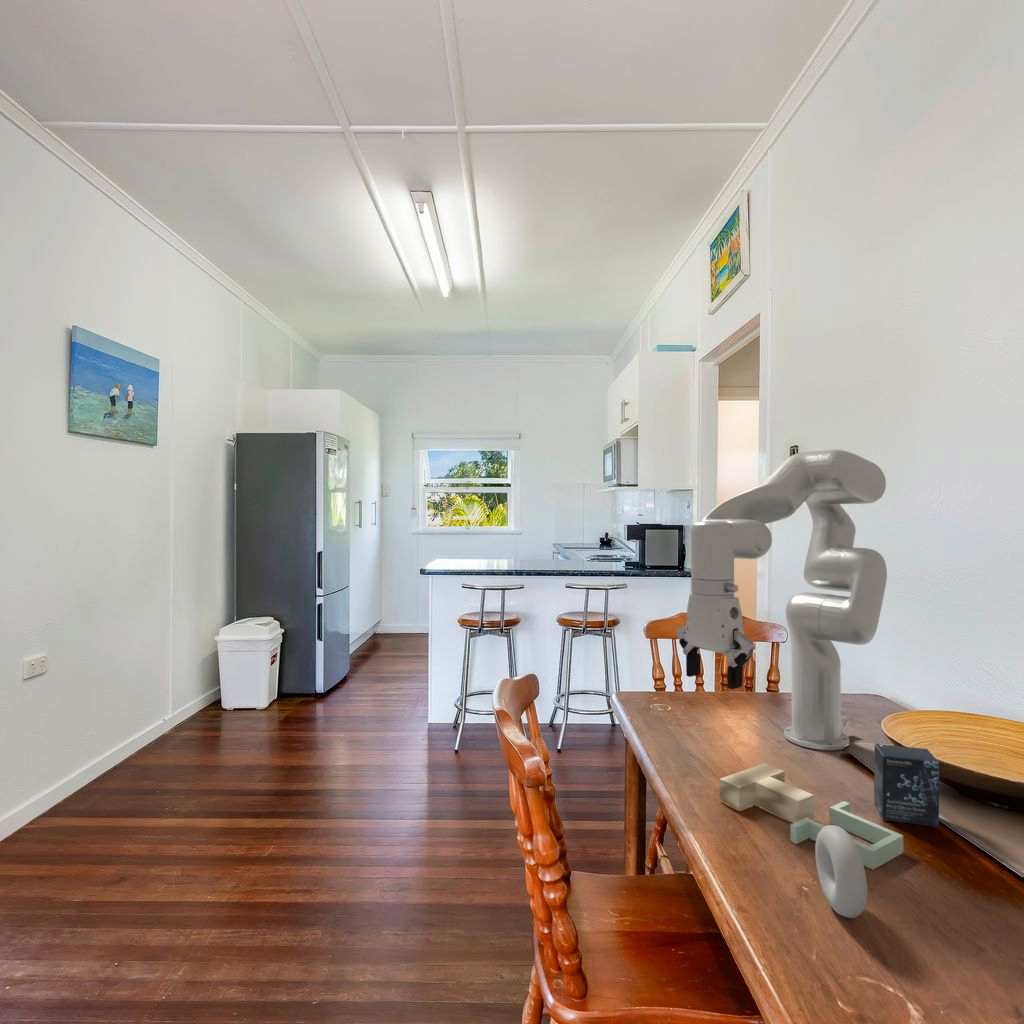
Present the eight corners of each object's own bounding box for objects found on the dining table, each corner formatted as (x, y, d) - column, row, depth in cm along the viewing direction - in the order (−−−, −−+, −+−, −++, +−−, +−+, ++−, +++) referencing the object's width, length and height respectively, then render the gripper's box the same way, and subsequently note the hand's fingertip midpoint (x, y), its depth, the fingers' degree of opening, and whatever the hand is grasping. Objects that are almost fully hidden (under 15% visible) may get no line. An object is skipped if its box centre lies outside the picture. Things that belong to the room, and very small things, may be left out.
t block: (719, 802, 104) (719, 778, 104) (764, 785, 110) (764, 763, 110) (782, 833, 94) (782, 807, 94) (828, 813, 100) (828, 788, 100)
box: (883, 821, 97) (882, 755, 97) (873, 805, 103) (873, 742, 103) (940, 829, 95) (940, 761, 95) (927, 811, 100) (927, 747, 100)
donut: (811, 884, 81) (810, 809, 81) (838, 886, 81) (838, 810, 81) (841, 936, 71) (840, 851, 71) (873, 939, 71) (872, 853, 71)
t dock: (844, 816, 99) (843, 801, 99) (914, 846, 90) (913, 829, 90) (790, 841, 92) (790, 824, 92) (860, 876, 83) (860, 858, 83)
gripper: (766, 591, 107) (767, 689, 107) (691, 582, 122) (691, 668, 122) (738, 595, 103) (739, 697, 103) (663, 584, 118) (664, 673, 118)
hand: (713, 681), depth 112 cm, fingers open, 9 cm apart
